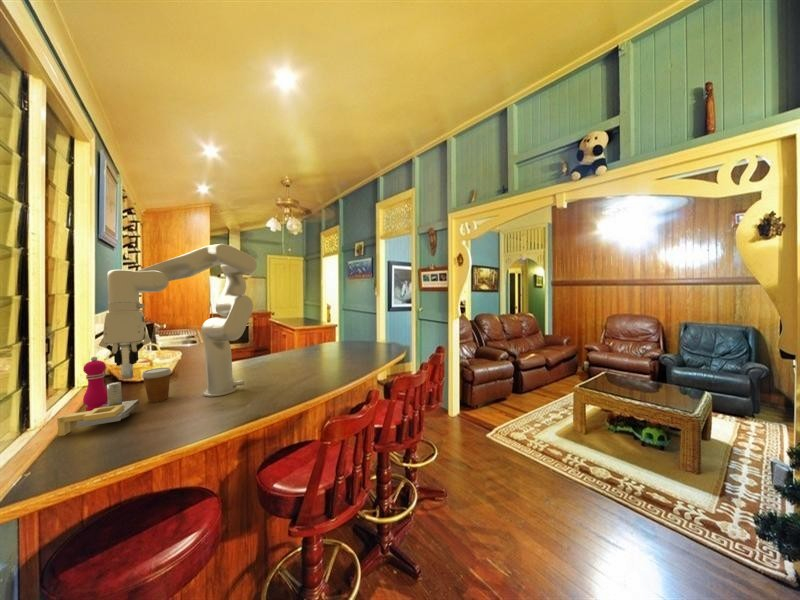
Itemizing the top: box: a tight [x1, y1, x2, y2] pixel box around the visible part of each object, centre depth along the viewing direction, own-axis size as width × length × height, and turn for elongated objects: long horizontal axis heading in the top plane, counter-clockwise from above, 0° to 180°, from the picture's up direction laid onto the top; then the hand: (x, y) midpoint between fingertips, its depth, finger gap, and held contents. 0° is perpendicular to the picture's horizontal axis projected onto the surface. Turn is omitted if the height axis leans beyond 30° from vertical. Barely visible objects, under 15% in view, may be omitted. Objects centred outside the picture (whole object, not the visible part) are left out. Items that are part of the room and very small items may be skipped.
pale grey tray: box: [76, 381, 140, 428], centre depth 104 cm, size 10×17×12 cm, turn 24°
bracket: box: [56, 404, 124, 437], centre depth 99 cm, size 14×7×6 cm, turn 114°
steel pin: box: [118, 342, 134, 380], centre depth 102 cm, size 4×4×12 cm
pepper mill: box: [82, 356, 108, 412], centre depth 116 cm, size 7×7×20 cm
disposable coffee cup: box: [141, 367, 173, 403], centre depth 125 cm, size 10×10×12 cm
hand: (126, 363), depth 102 cm, fingers closed on steel pin, 3 cm apart
